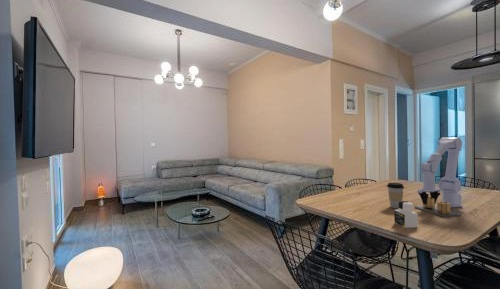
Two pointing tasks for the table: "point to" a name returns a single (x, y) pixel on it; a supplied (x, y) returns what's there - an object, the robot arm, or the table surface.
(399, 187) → the coffee cup
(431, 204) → the tan wooden cube
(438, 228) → the table surface
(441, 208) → the block
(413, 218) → the medicine bottle
